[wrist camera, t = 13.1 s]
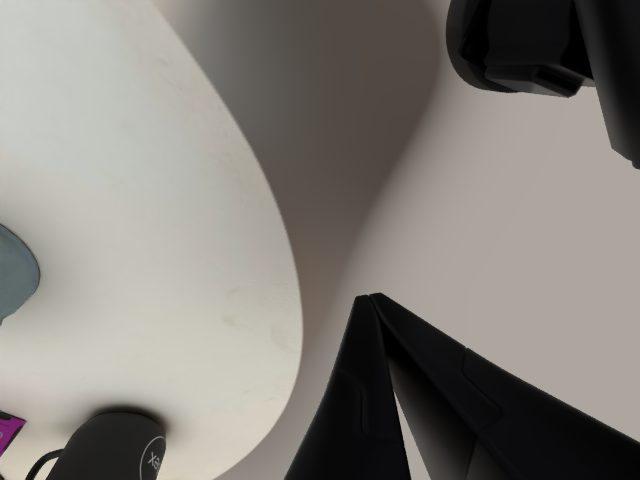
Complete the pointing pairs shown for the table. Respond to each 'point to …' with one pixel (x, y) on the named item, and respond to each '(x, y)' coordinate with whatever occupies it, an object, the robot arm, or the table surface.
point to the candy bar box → (8, 430)
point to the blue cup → (15, 273)
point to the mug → (109, 450)
